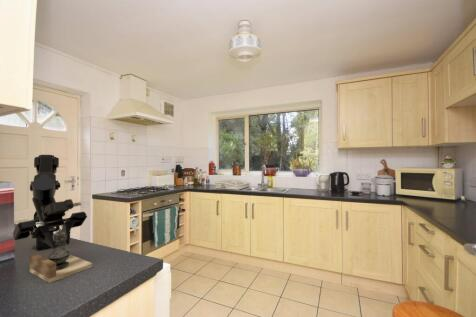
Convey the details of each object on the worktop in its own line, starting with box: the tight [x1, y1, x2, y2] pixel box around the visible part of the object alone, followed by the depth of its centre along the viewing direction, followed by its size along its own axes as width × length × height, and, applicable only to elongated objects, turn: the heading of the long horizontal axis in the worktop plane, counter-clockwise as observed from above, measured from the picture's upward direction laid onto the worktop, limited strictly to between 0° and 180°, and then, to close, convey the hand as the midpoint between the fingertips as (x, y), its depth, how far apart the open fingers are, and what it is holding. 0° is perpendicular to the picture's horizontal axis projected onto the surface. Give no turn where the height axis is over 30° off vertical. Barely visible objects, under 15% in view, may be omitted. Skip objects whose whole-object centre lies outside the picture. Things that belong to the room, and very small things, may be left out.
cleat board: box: [28, 253, 94, 284], centre depth 75 cm, size 14×12×5 cm
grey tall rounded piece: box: [47, 228, 71, 269], centre depth 74 cm, size 6×6×12 cm
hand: (61, 245), depth 73 cm, fingers closed on grey tall rounded piece, 4 cm apart
